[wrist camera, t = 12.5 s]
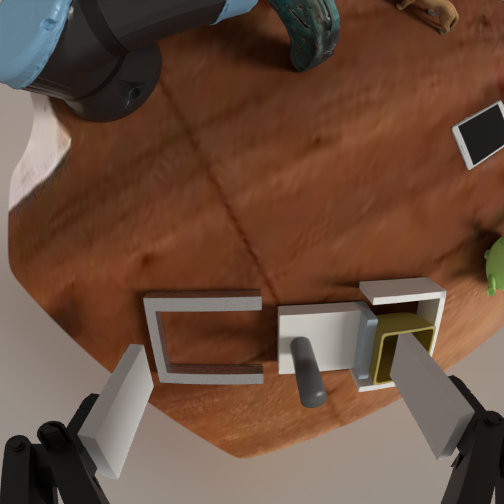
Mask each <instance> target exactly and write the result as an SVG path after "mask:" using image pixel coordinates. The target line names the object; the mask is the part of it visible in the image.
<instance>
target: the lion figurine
mask: <svg viewBox="0 0 504 504" xmlns="http://www.w3.org/2000/svg"><path fill="white" fill-rule="evenodd" d="M415 1H416V2H417V3H419V4H420V5H422V6H423V7H425V8H428V13H429V14H430V15H432V16H439V21H440V23H441V25H442V27H443V29H444V30H443V29H441V28H440V29H438V32H439V33H440V34H441V35H445V34H447V33H448V32H449V31H450V29H451V30H453V31H454V25H455V24H456V23H457V21H458V13H457V11H456V9H455V7H454V6H453V5H452V3H451V2H449V1H448V0H403V1H402V2H401V3H397V4H396V7H397V9H398V10H402V9H404V8H405V7H406V6H407V5H409V4H411V3H414V2H415ZM433 10H435V11H436V12H434V11H433ZM452 20H453V21H452ZM451 21H452V23H451V25H450V26H449V24H450V22H451Z"/></svg>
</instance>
